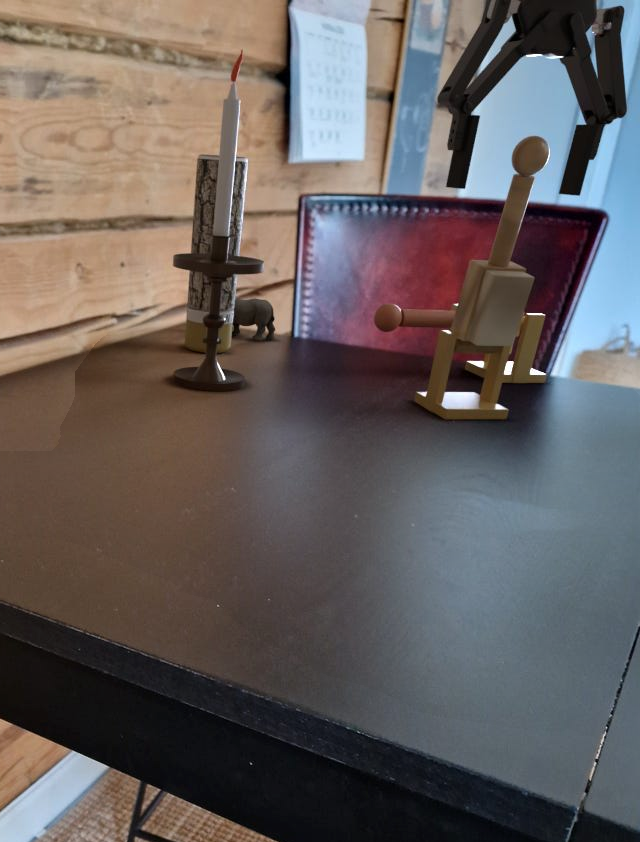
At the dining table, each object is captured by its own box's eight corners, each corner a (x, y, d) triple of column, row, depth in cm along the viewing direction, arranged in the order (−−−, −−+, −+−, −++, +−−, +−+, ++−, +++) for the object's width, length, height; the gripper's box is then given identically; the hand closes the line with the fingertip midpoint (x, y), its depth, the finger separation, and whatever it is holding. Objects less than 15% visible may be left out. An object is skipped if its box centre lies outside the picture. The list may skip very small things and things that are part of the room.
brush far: (378, 352, 114) (386, 306, 111) (362, 344, 118) (369, 299, 115) (526, 355, 118) (537, 310, 115) (504, 346, 123) (515, 304, 120)
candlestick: (266, 383, 110) (305, 55, 92) (221, 397, 102) (254, 42, 85) (196, 368, 115) (220, 55, 98) (148, 380, 107) (165, 43, 90)
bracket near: (507, 419, 101) (527, 340, 96) (444, 419, 99) (462, 338, 95) (472, 401, 108) (490, 326, 103) (412, 401, 106) (428, 325, 101)
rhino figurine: (196, 328, 141) (199, 289, 138) (276, 339, 137) (281, 299, 134) (187, 332, 138) (190, 292, 135) (269, 343, 133) (274, 302, 130)
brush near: (582, 143, 84) (550, 135, 89) (533, 139, 83) (503, 131, 88) (509, 364, 98) (484, 348, 102) (467, 364, 96) (443, 347, 101)
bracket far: (494, 382, 118) (511, 314, 113) (464, 369, 125) (479, 303, 120) (545, 383, 119) (564, 315, 115) (513, 369, 126) (529, 305, 122)
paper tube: (181, 351, 124) (194, 154, 112) (187, 343, 130) (200, 154, 117) (227, 356, 123) (246, 157, 111) (232, 347, 129) (250, 157, 117)
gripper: (657, -41, 86) (593, 195, 97) (432, -70, 81) (390, 183, 92) (713, -55, 80) (637, 199, 90) (473, -87, 75) (422, 186, 85)
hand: (512, 192), depth 91 cm, fingers open, 13 cm apart
